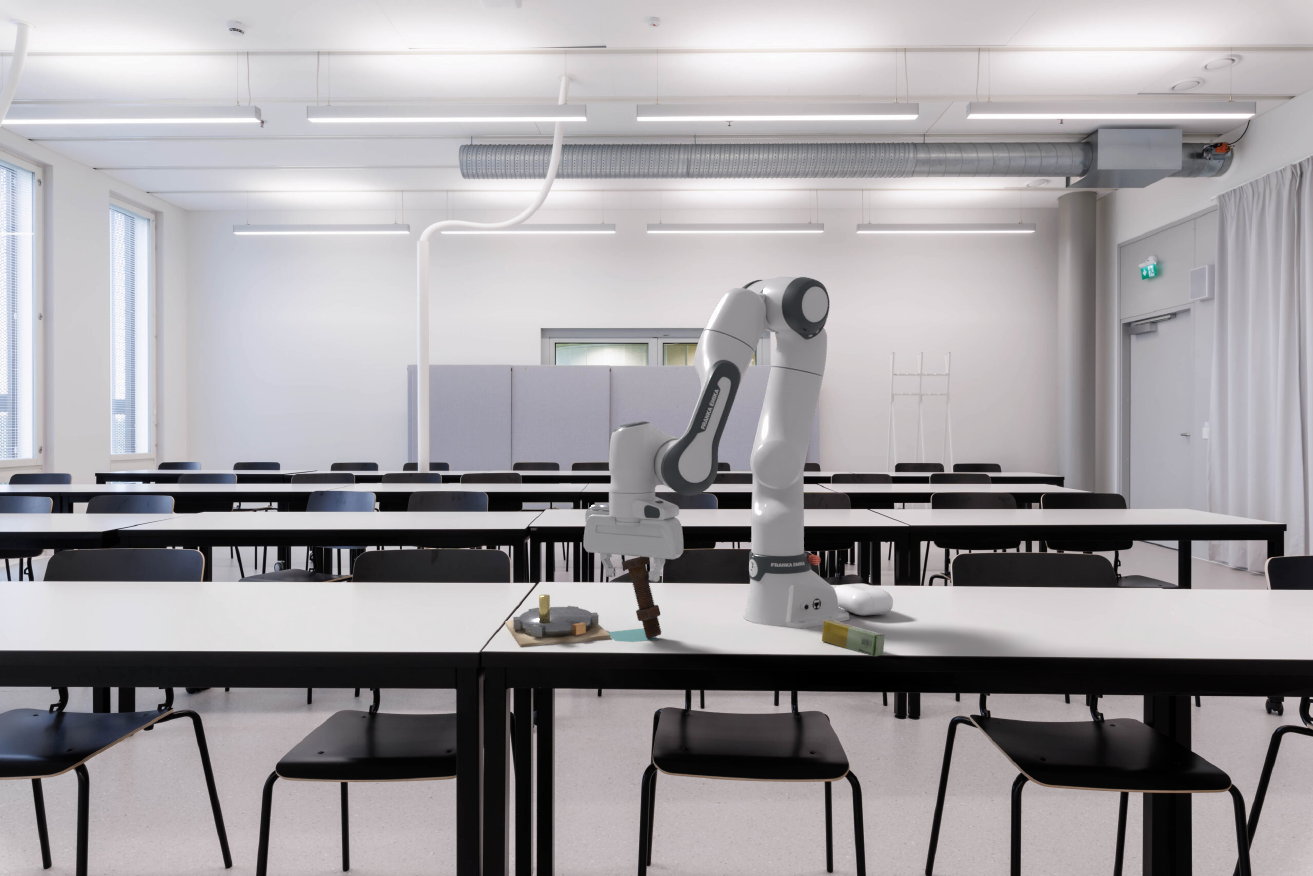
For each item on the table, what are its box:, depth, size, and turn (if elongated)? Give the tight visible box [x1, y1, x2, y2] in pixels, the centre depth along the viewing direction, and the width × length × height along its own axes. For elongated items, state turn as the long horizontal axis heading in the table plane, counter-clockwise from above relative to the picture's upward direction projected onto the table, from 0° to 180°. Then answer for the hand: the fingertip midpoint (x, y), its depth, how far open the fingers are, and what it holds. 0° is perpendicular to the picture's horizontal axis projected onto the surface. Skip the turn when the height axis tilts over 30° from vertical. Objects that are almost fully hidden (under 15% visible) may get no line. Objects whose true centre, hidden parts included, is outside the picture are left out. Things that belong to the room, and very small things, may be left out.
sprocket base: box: [504, 619, 611, 648], centre depth 144 cm, size 17×17×1 cm
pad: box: [607, 627, 659, 643], centre depth 141 cm, size 8×8×1 cm
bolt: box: [621, 556, 662, 638], centre depth 140 cm, size 6×5×15 cm
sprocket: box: [512, 594, 599, 637], centre depth 144 cm, size 16×15×7 cm
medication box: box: [821, 620, 886, 657], centre depth 133 cm, size 12×3×4 cm, turn 38°
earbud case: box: [833, 583, 894, 616], centre depth 161 cm, size 10×13×5 cm
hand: (632, 578), depth 141 cm, fingers open, 8 cm apart
